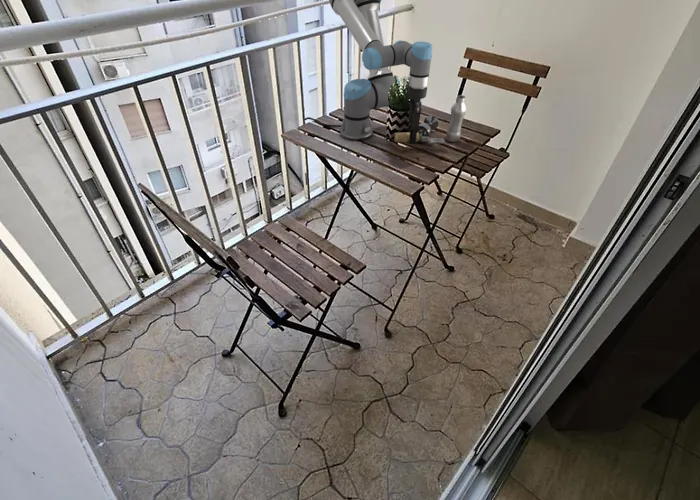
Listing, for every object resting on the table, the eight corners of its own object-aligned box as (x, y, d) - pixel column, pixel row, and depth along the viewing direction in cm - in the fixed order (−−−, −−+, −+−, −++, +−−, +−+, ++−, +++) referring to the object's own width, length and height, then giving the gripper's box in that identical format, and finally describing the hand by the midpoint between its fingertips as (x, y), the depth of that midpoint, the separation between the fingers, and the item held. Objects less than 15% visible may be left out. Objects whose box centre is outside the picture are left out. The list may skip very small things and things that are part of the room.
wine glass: (420, 118, 186) (408, 129, 175) (434, 111, 180) (424, 122, 170) (427, 133, 188) (416, 145, 178) (441, 127, 183) (431, 139, 173)
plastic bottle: (442, 139, 179) (449, 96, 166) (452, 135, 182) (460, 92, 169) (452, 145, 175) (461, 101, 162) (462, 140, 178) (472, 97, 165)
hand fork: (395, 143, 168) (395, 135, 165) (394, 139, 171) (394, 130, 168) (444, 143, 168) (446, 134, 166) (442, 139, 171) (444, 130, 169)
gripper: (405, 78, 160) (400, 132, 176) (411, 94, 147) (405, 150, 163) (423, 78, 160) (417, 132, 176) (430, 94, 147) (423, 150, 163)
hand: (411, 140), depth 169 cm, fingers closed on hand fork, 4 cm apart
